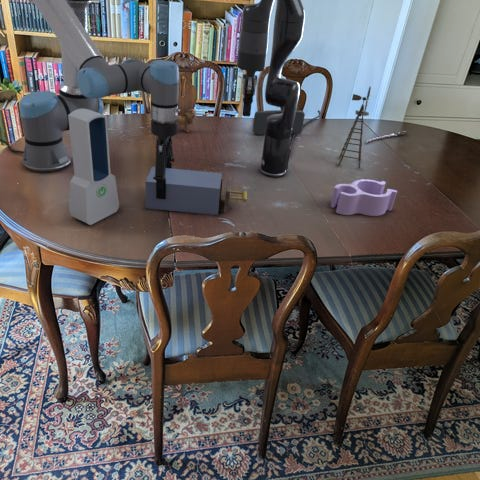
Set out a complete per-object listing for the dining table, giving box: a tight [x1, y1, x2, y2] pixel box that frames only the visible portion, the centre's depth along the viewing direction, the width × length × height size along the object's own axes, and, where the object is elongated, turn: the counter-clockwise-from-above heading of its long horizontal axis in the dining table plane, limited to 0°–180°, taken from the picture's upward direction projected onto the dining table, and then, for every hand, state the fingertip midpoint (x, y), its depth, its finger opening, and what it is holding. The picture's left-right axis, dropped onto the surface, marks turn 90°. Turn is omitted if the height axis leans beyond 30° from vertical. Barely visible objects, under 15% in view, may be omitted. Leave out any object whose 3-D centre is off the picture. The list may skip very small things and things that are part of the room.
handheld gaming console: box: [252, 109, 306, 136], centre depth 203 cm, size 23×3×10 cm, turn 108°
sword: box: [365, 132, 406, 144], centre depth 214 cm, size 31×3×1 cm, turn 126°
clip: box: [330, 178, 398, 217], centre depth 152 cm, size 20×12×7 cm, turn 109°
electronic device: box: [68, 109, 120, 226], centre depth 127 cm, size 12×8×30 cm, turn 148°
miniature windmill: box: [338, 86, 372, 169], centre depth 177 cm, size 9×8×30 cm
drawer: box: [218, 177, 248, 213], centre depth 143 cm, size 26×10×7 cm, turn 89°
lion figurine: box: [177, 108, 197, 133], centre depth 195 cm, size 15×5×9 cm, turn 110°
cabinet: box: [144, 166, 223, 216], centre depth 143 cm, size 22×11×9 cm, turn 89°
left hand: (164, 189), depth 143 cm, fingers closed on cabinet, 11 cm apart
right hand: (246, 115), depth 130 cm, fingers closed
